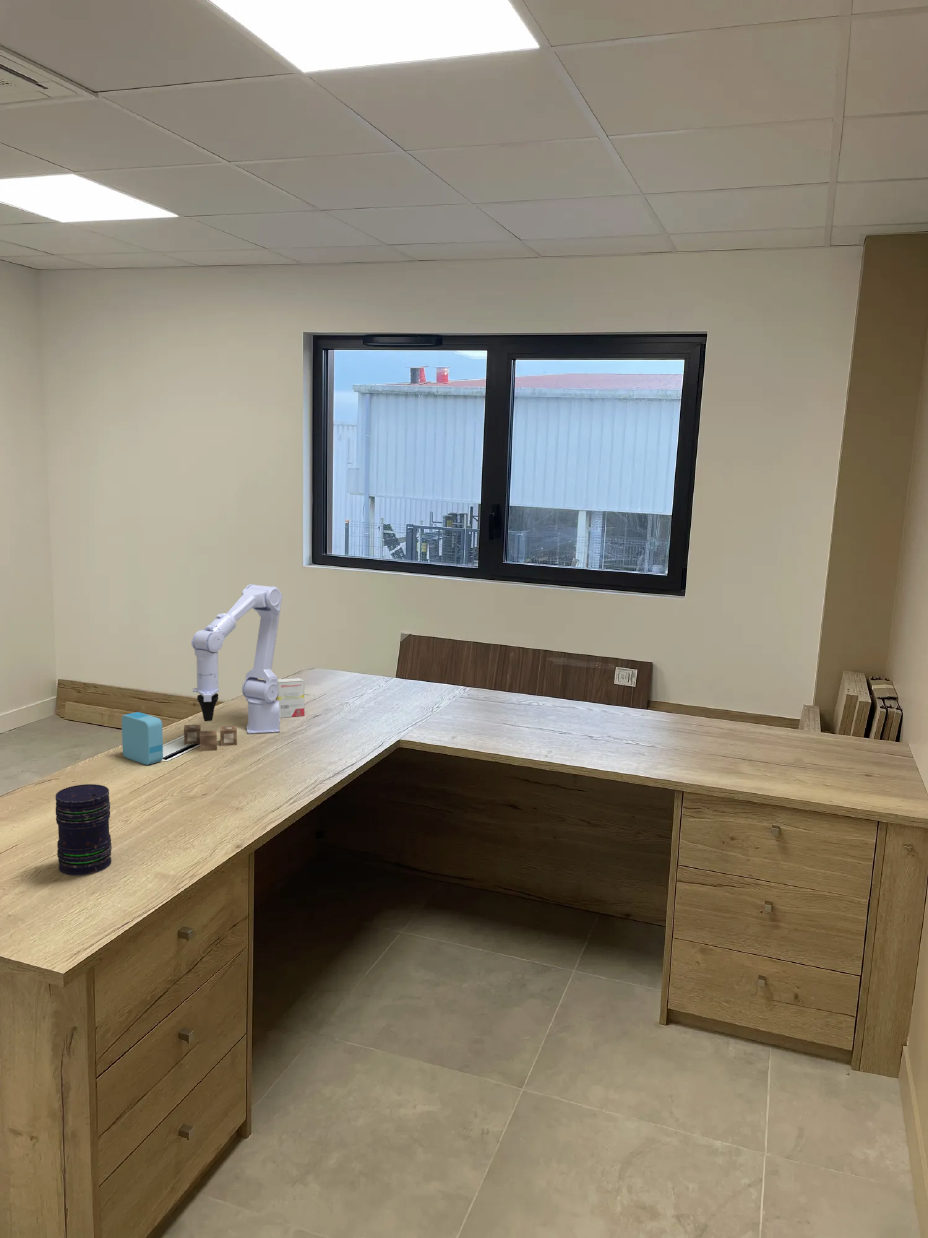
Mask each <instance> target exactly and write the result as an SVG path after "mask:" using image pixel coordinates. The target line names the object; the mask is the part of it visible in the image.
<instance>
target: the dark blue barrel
mask: <svg viewBox="0 0 928 1238" xmlns="http://www.w3.org/2000/svg"><path fill="white" fill-rule="evenodd" d="M55 816H56V817H55V821H56V824H57V831H58V834H57V835H58V840H57V842H56V844H57V846H56V847H57V851H56V855H57V861H58V871H59V872H60V873H62V874H63V875H66V876H73V877H74V876H77V877H79V876H87V875H88V876H89V875H92V874H95V873H96V874H97V873H100V872H102V871H104V870H106V869H107V868H109V867H110V866H111V865H112V857H111V856H112V850H113V849H112V847H113V846H112V835H111V834H110V818H111V802H110V789H109V787H108V786H105V785H103V784H102V785H101V784H93V783H90V784H89V783H87V784H77V785H73V786H68V787H65V788H62V789H61V790H59V791H57V792H56V794H55Z"/></svg>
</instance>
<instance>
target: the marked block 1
mask: <svg viewBox="0 0 928 1238" xmlns="http://www.w3.org/2000/svg"><path fill="white" fill-rule="evenodd" d="M201 726H202V725H201V724H184V726H183V744H184V745H200V731H202V729H201Z"/></svg>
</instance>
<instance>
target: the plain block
mask: <svg viewBox="0 0 928 1238" xmlns="http://www.w3.org/2000/svg"><path fill="white" fill-rule="evenodd" d="M217 731H218V730H201V731H200V744H199V751H200V752H210V751H215V752H216V751H217V750H218V736H217V735H218V734H217Z"/></svg>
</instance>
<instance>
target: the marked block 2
mask: <svg viewBox="0 0 928 1238" xmlns="http://www.w3.org/2000/svg"><path fill="white" fill-rule="evenodd" d="M219 730H220V731H219V732H220V734H219V735H220V737H219V739H220V747H221V746H222V747H223V746H225V747H226V746H227V747H229V746H238V736H237V733H238V732H237V731H238V730H237V725H225V726H220V728H219Z"/></svg>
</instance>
